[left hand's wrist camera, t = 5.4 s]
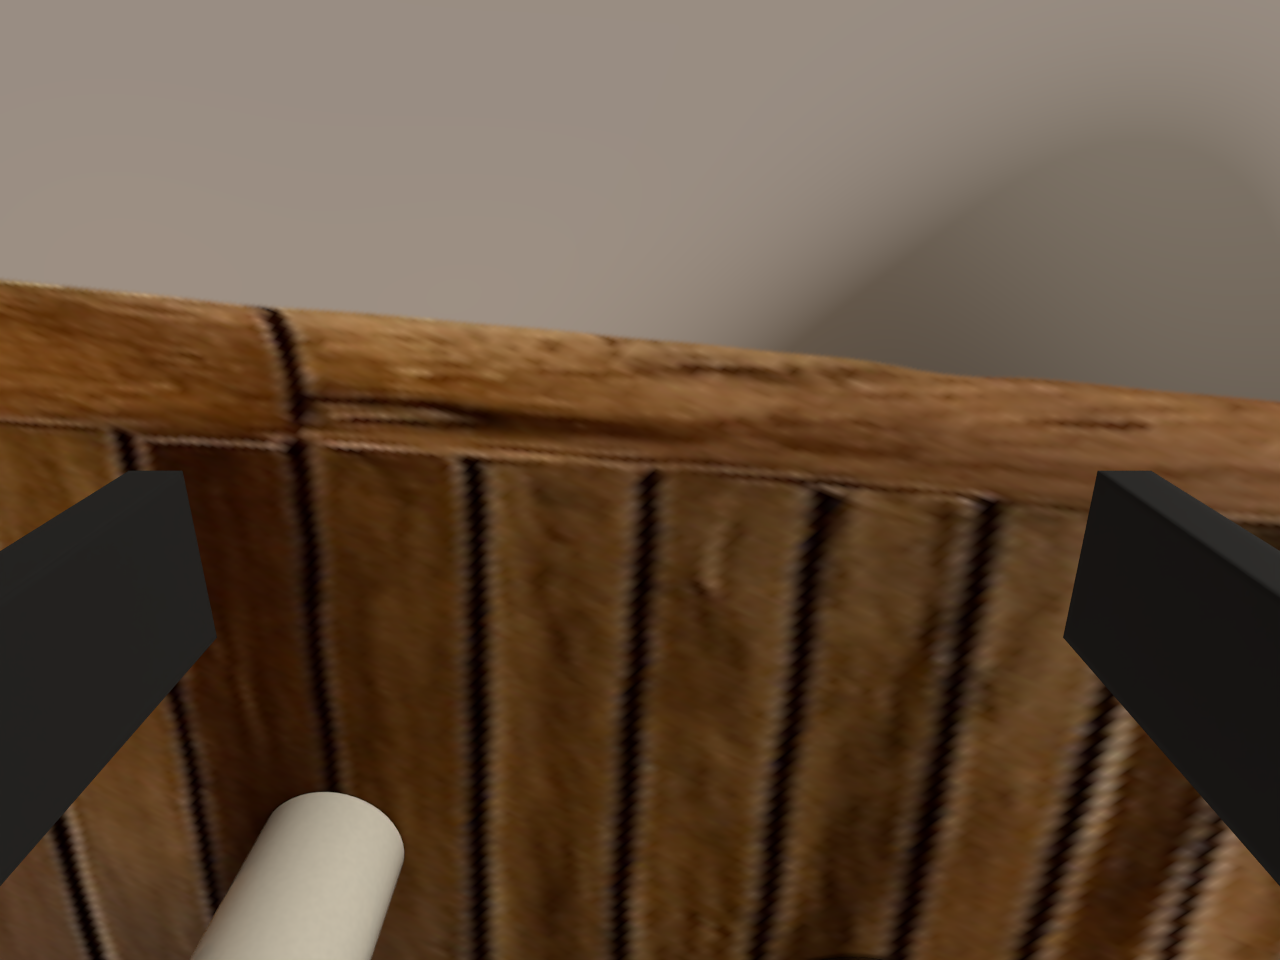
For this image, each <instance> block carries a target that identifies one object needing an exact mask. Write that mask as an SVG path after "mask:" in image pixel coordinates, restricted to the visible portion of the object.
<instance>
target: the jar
mask: <svg viewBox="0 0 1280 960" xmlns="http://www.w3.org/2000/svg"><path fill="white" fill-rule="evenodd" d="M403 861H404V847H403V842H402V839H401V836H400V834H399V832H398V830H397V828H396V827H395V825H394V824H393V823H392V821H391V820H390V819H389V818H388V817H387V816H386V815H385V814H384V813H383V812H381V811H380V810H379V809H377V808H376V807H374V806H373V805H371V804H369V803H367V802H366V801H364V800H361V799H359V798H356V797H353V796H350V795H346V794H341V793H334V792H315V793H308V794H304V795H300V796H297V797H294V798H292V799H290V800H288V801H286V802H285V803H283V804H282V805H280V806H279V807H278V808H277V809H276V810H275V811H274V812H273V813H272V814H271V815H270V817H269V818H268V819H267V821H266V823H265V825H264V827H263V828H262V830H261V832H260V834H259V836H258V837H257V839H256V841H255V843H254V845H253V846H252V848H251V850H250V852H249V853H248V855H247V857H246V859H245V861H244V862H243V864H242V866H241V868H240V870H239V871H238V873H237V875H236V877H235V879H234V880H233V882H232V884H231V886H230V888H229V889H228V891H227V893H226V895H225V896H224V898H223V900H222V902H221V904H220V905H219V907H218V909H217V911H216V913H215V914H214V916H213V918H212V920H211V922H210V923H209V925H208V927H207V929H206V931H205V932H204V934H203V936H202V938H201V940H200V941H199V943H198V945H197V947H196V948H195V950H194V952H193V954H192V956H191V957H190V959H189V960H371V959H372V956H373V953H374V950H375V947H376V944H377V941H378V938H379V935H380V932H381V929H382V926H383V923H384V920H385V917H386V914H387V911H388V908H389V905H390V902H391V899H392V896H393V893H394V890H395V887H396V884H397V881H398V878H399V875H400V872H401V869H402V866H403Z"/></svg>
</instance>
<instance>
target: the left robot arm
mask: <svg viewBox="0 0 1280 960" xmlns="http://www.w3.org/2000/svg"><path fill="white" fill-rule="evenodd" d="M216 638H217V636H216V631H215V627H214V622H213V617H212V612H211V607H210V602H209V597H208V593H207V588H206V583H205V578H204V573H203V568H202V564H201V559H200V554H199V549H198V544H197V539H196V535H195V530H194V525H193V520H192V515H191V510H190V506H189V501H188V496H187V491H186V486H185V481H184V477H183V472H182V471H128V472H126V473H125V474H123V475H122V476H120V477H118V478H117V479H115V480H114V481H112V482H110V483H109V484H107V485H106V486H104V487H102V488H101V489H99V490H98V491H96V492H94V493H93V494H91V495H90V496H88V497H86V498H85V499H83V500H82V501H80V502H78V503H77V504H75V505H73V506H72V507H70V508H69V509H67V510H65V511H64V512H62V513H61V514H59V515H57V516H56V517H54V518H53V519H51V520H49V521H48V522H46V523H45V524H43V525H41V526H40V527H38V528H37V529H35V530H33V531H32V532H30V533H29V534H27V535H25V536H24V537H22V538H21V539H19V540H17V541H16V542H14V543H13V544H11V545H9V546H8V547H6V548H5V549H3V550H1V551H0V886H1V884H2V883H3V882H4V881H5V880H6V879H7V878H8V876H9V875H10V874H11V873H12V872H13V871H14V870H15V868H16V867H17V866H18V865H19V864H20V863H21V862H22V860H23V859H24V858H25V857H26V856H27V855H28V854H29V852H30V851H31V850H32V849H33V848H34V847H35V845H36V844H37V843H38V842H39V841H40V840H41V839H42V837H43V836H44V835H45V834H46V833H47V832H48V831H49V829H50V828H51V827H52V826H53V825H54V824H55V823H56V821H57V820H58V819H59V818H60V817H61V816H62V814H63V813H64V812H65V811H66V810H67V809H68V808H69V806H70V805H71V804H72V803H73V802H74V801H75V800H76V798H77V797H78V796H79V795H80V794H81V793H82V792H83V790H84V789H85V788H86V787H87V786H88V785H89V784H90V782H91V781H92V780H93V779H94V778H95V777H96V775H97V774H98V773H99V772H100V771H101V770H102V769H103V767H104V766H105V765H106V764H107V763H108V762H109V761H110V759H111V758H112V757H113V756H114V755H115V754H116V753H117V751H118V750H119V749H120V748H121V747H122V746H123V745H124V743H125V742H126V741H127V740H128V739H129V738H130V736H131V735H132V734H133V733H134V732H135V731H136V730H137V728H138V727H139V726H140V725H141V724H142V723H143V722H144V720H145V719H146V718H147V717H148V716H149V715H150V714H151V712H152V711H153V710H154V709H155V708H156V707H157V705H158V704H159V703H160V702H161V701H162V700H163V699H164V697H165V696H166V695H167V694H168V693H169V692H170V691H171V689H172V688H173V687H174V686H175V685H176V684H177V683H178V681H179V680H180V679H181V678H182V677H183V676H184V675H185V673H186V672H187V671H188V670H189V669H190V668H191V666H192V665H193V664H194V663H195V662H196V661H197V660H198V658H199V657H200V656H201V655H202V654H203V653H204V652H205V650H206V649H207V648H208V647H209V646H210V645H211V644H212V642H213V641H214V640H215V639H216ZM1063 638H1064V639H1065V640H1066V641H1067V642H1068V644H1069V645H1070V646H1071V647H1072V648H1073V649H1074V650H1075V652H1076V653H1077V654H1078V655H1079V656H1080V657H1081V658H1082V660H1083V661H1084V662H1085V663H1086V664H1087V665H1088V666H1089V668H1090V669H1091V670H1092V671H1093V672H1094V673H1095V675H1096V676H1097V677H1098V678H1099V679H1100V680H1101V681H1102V683H1103V684H1104V685H1105V686H1106V687H1107V688H1108V689H1109V691H1110V692H1111V693H1112V694H1113V695H1114V696H1115V697H1116V699H1117V700H1118V701H1119V702H1120V703H1121V704H1122V705H1123V707H1124V708H1125V709H1126V710H1127V711H1128V712H1129V714H1130V715H1131V716H1132V717H1133V718H1134V719H1135V720H1136V722H1137V723H1138V724H1139V725H1140V726H1141V727H1142V728H1143V730H1144V731H1145V732H1146V733H1147V734H1148V735H1149V736H1150V738H1151V739H1152V740H1153V741H1154V742H1155V743H1156V745H1157V746H1158V747H1159V748H1160V749H1161V750H1162V751H1163V753H1164V754H1165V755H1166V756H1167V757H1168V758H1169V759H1170V761H1171V762H1172V763H1173V764H1174V765H1175V766H1176V767H1177V769H1178V770H1179V771H1180V772H1181V773H1182V774H1183V775H1184V777H1185V778H1186V779H1187V780H1188V781H1189V782H1190V784H1191V785H1192V786H1193V787H1194V788H1195V789H1196V790H1197V792H1198V793H1199V794H1200V795H1201V796H1202V797H1203V798H1204V800H1205V801H1206V802H1207V803H1208V804H1209V805H1210V806H1211V808H1212V809H1213V810H1214V811H1215V812H1216V813H1217V815H1218V816H1219V817H1220V818H1221V819H1222V820H1223V821H1224V823H1225V824H1226V825H1227V826H1228V827H1229V828H1230V829H1231V831H1232V832H1233V833H1234V834H1235V835H1236V836H1237V837H1238V839H1239V840H1240V841H1241V842H1242V843H1243V844H1244V845H1245V847H1246V848H1247V849H1248V850H1249V851H1250V852H1251V854H1252V855H1253V856H1254V857H1255V858H1256V859H1257V860H1258V862H1259V863H1260V864H1261V865H1262V866H1263V867H1264V868H1265V870H1266V871H1267V872H1268V873H1269V874H1270V875H1271V876H1272V878H1273V879H1274V880H1275V881H1276V882H1277V883H1278V884H1279V886H1280V551H1279V550H1277V549H1275V548H1274V547H1272V546H1271V545H1269V544H1267V543H1266V542H1264V541H1263V540H1261V539H1259V538H1258V537H1256V536H1255V535H1253V534H1251V533H1250V532H1248V531H1247V530H1245V529H1243V528H1242V527H1240V526H1239V525H1237V524H1235V523H1234V522H1232V521H1231V520H1229V519H1227V518H1226V517H1224V516H1223V515H1221V514H1219V513H1218V512H1216V511H1215V510H1213V509H1211V508H1210V507H1208V506H1207V505H1205V504H1203V503H1202V502H1200V501H1198V500H1197V499H1195V498H1194V497H1192V496H1190V495H1189V494H1187V493H1186V492H1184V491H1182V490H1181V489H1179V488H1178V487H1176V486H1174V485H1173V484H1171V483H1170V482H1168V481H1166V480H1165V479H1163V478H1162V477H1160V476H1158V475H1157V474H1155V473H1154V472H1152V471H1098V472H1097V477H1096V481H1095V486H1094V491H1093V496H1092V501H1091V506H1090V510H1089V515H1088V520H1087V525H1086V530H1085V535H1084V539H1083V544H1082V549H1081V554H1080V559H1079V564H1078V568H1077V573H1076V578H1075V583H1074V588H1073V593H1072V597H1071V602H1070V607H1069V612H1068V617H1067V622H1066V626H1065V631H1064V636H1063ZM824 960H881V959H875V958H866V957H839V958H830V959H824Z"/></svg>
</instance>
